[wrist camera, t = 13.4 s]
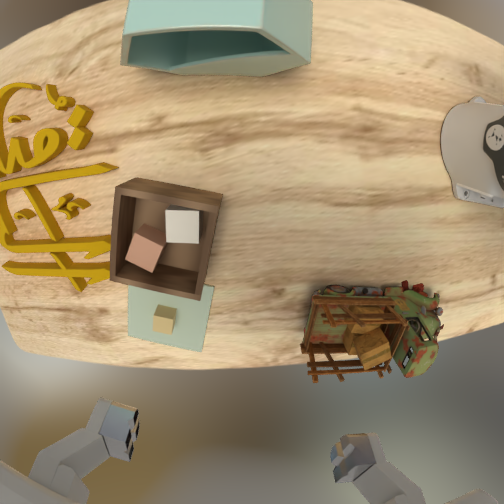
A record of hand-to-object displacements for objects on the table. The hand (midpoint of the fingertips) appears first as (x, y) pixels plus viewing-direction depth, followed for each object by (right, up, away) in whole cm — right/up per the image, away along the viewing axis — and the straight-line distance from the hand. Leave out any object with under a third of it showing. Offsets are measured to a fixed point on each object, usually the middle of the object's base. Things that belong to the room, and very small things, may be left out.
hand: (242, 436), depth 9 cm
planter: (-4, +33, +21) cm, 39 cm away
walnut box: (-11, +10, +29) cm, 33 cm away
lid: (-13, -2, +35) cm, 38 cm away
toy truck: (+20, -2, +36) cm, 41 cm away
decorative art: (-32, +18, +26) cm, 45 cm away
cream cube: (-8, +11, +28) cm, 31 cm away
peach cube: (-13, +8, +29) cm, 33 cm away
